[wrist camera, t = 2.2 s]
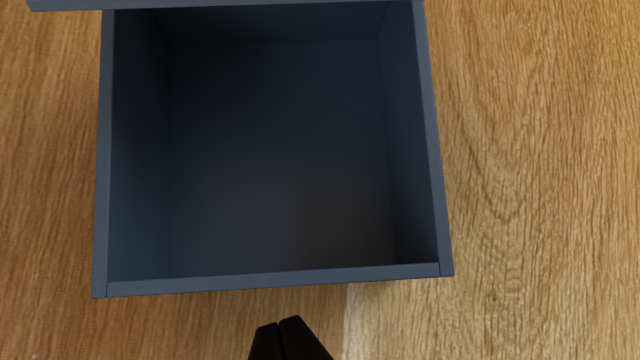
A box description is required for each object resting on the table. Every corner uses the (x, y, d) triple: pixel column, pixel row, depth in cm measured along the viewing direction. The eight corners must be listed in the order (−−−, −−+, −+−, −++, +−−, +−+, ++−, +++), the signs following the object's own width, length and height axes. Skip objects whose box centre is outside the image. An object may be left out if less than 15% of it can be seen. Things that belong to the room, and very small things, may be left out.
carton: (164, 42, 24) (103, -56, 17) (383, 35, 25) (416, -63, 17) (162, 288, 22) (90, 299, 14) (405, 273, 22) (455, 276, 15)
